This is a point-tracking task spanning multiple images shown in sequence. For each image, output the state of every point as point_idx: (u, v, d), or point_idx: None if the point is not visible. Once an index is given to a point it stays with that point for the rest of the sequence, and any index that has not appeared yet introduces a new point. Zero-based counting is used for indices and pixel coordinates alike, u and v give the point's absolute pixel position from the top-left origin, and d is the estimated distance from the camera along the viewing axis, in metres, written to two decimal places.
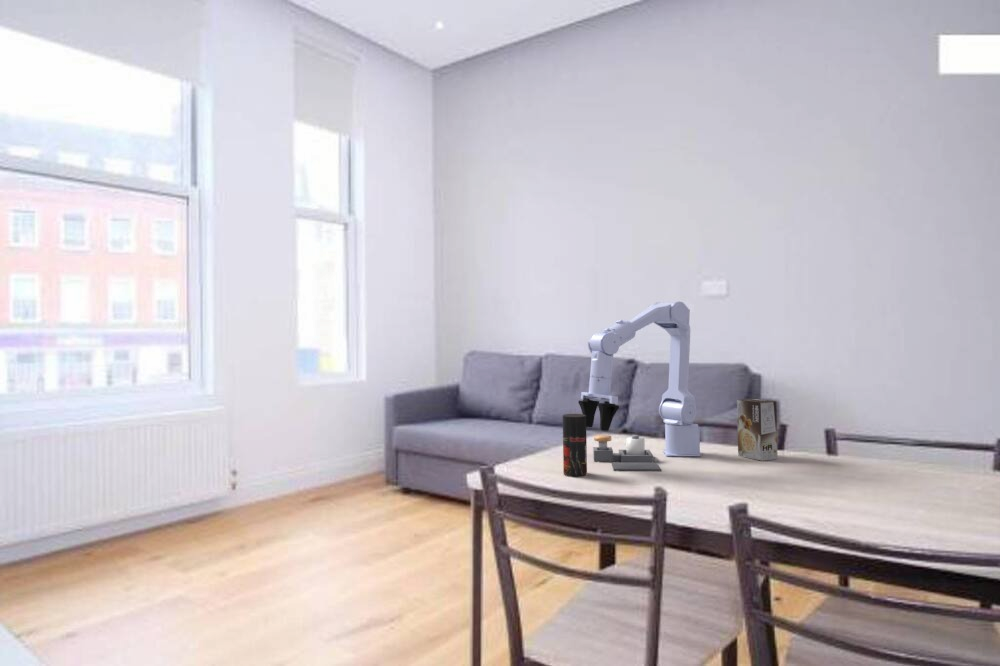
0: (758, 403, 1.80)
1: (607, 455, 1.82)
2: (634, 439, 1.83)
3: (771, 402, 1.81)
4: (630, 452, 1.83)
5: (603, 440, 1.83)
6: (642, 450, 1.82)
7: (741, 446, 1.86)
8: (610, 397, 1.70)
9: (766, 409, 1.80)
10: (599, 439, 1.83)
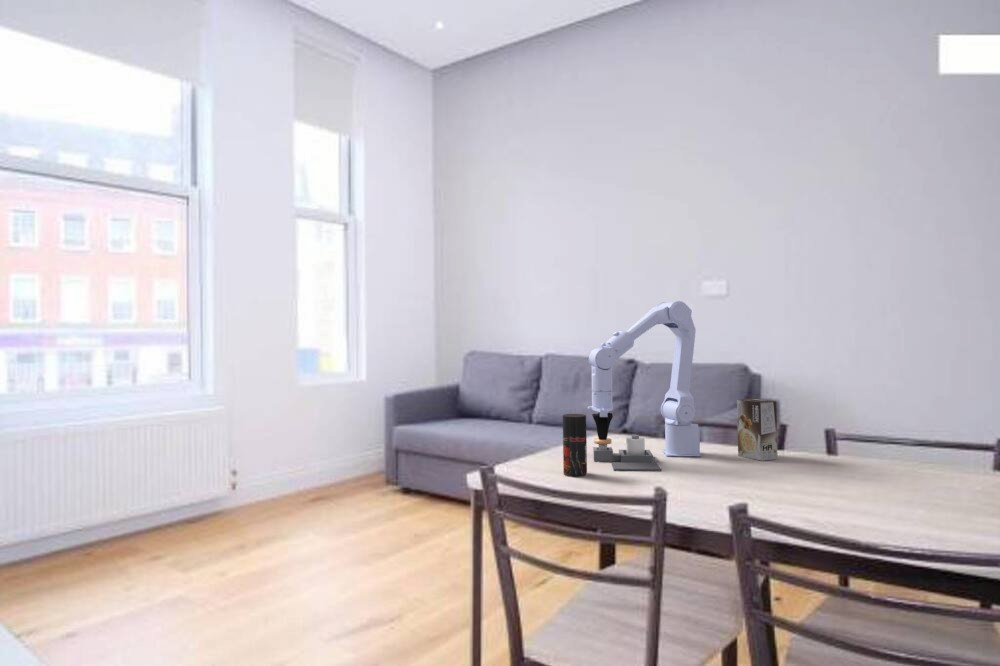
0: (758, 403, 1.80)
1: (607, 455, 1.82)
2: (634, 439, 1.83)
3: (771, 402, 1.81)
4: (630, 452, 1.83)
5: (603, 443, 1.83)
6: (642, 451, 1.82)
7: (741, 446, 1.86)
8: (599, 411, 1.78)
9: (766, 409, 1.80)
10: (599, 442, 1.83)
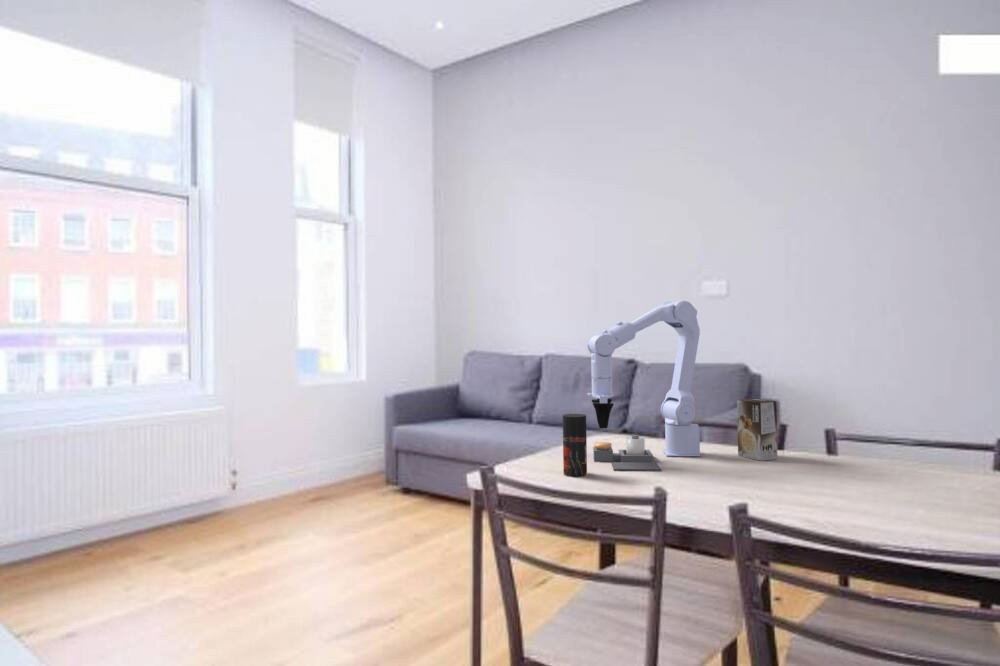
0: (758, 403, 1.80)
1: (607, 455, 1.82)
2: (634, 439, 1.83)
3: (771, 402, 1.81)
4: (630, 452, 1.83)
5: (603, 447, 1.83)
6: (642, 451, 1.82)
7: (741, 446, 1.86)
8: (599, 397, 1.78)
9: (766, 409, 1.80)
10: (599, 446, 1.83)
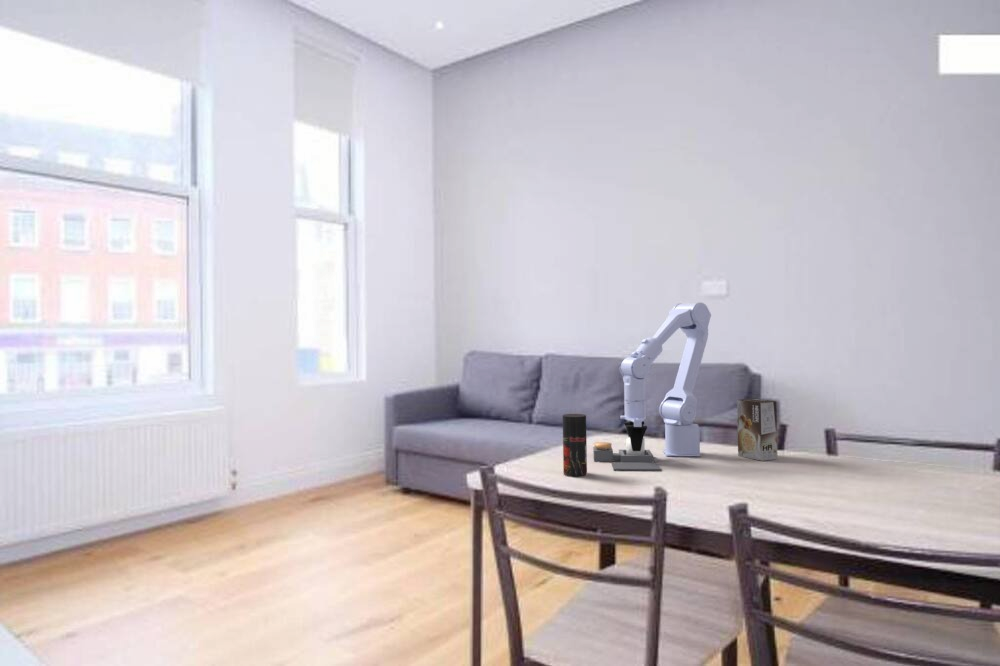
0: (758, 403, 1.80)
1: (607, 455, 1.82)
2: None
3: (771, 402, 1.81)
4: (630, 451, 1.83)
5: (603, 447, 1.83)
6: (642, 450, 1.82)
7: (741, 446, 1.86)
8: (633, 420, 1.78)
9: (766, 409, 1.80)
10: (599, 446, 1.83)
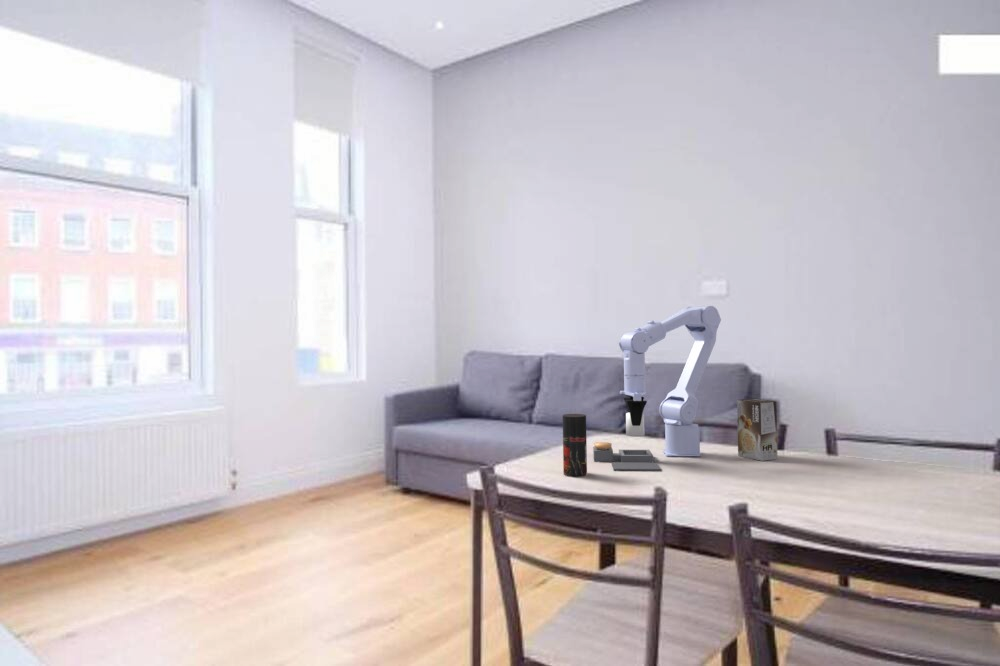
0: (758, 403, 1.80)
1: (607, 455, 1.82)
2: None
3: (771, 402, 1.81)
4: (629, 426, 1.82)
5: (603, 447, 1.83)
6: (642, 425, 1.82)
7: (741, 446, 1.86)
8: (633, 395, 1.77)
9: (766, 409, 1.80)
10: (599, 446, 1.83)
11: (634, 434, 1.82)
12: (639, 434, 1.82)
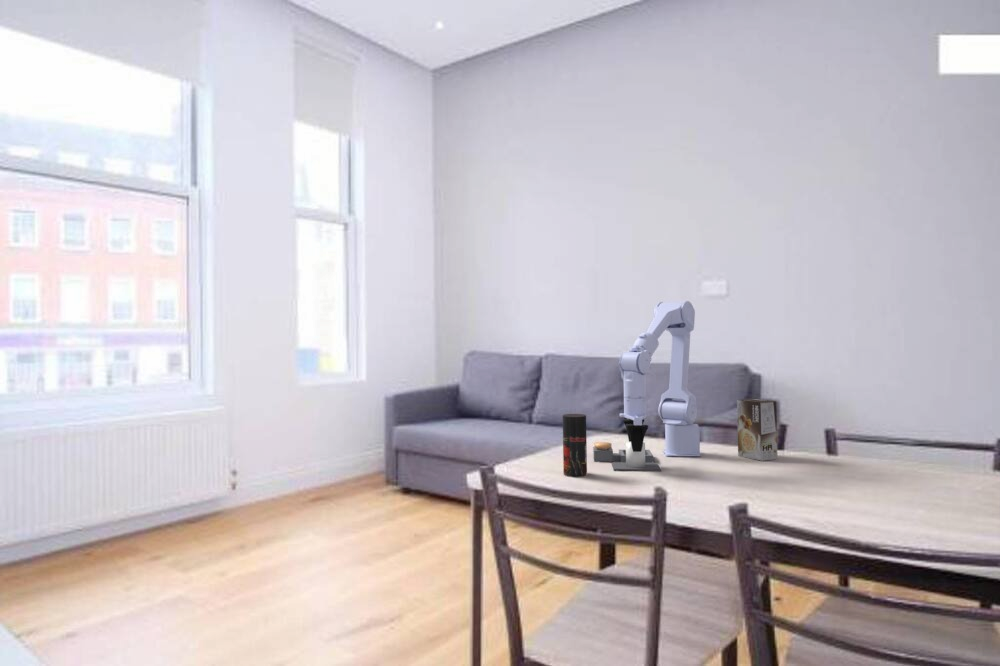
0: (758, 403, 1.80)
1: (607, 455, 1.82)
2: None
3: (771, 402, 1.81)
4: (629, 457, 1.73)
5: (603, 447, 1.83)
6: (642, 456, 1.72)
7: (741, 446, 1.86)
8: (633, 418, 1.68)
9: (766, 409, 1.80)
10: (599, 446, 1.83)
11: (634, 465, 1.72)
12: (639, 466, 1.72)
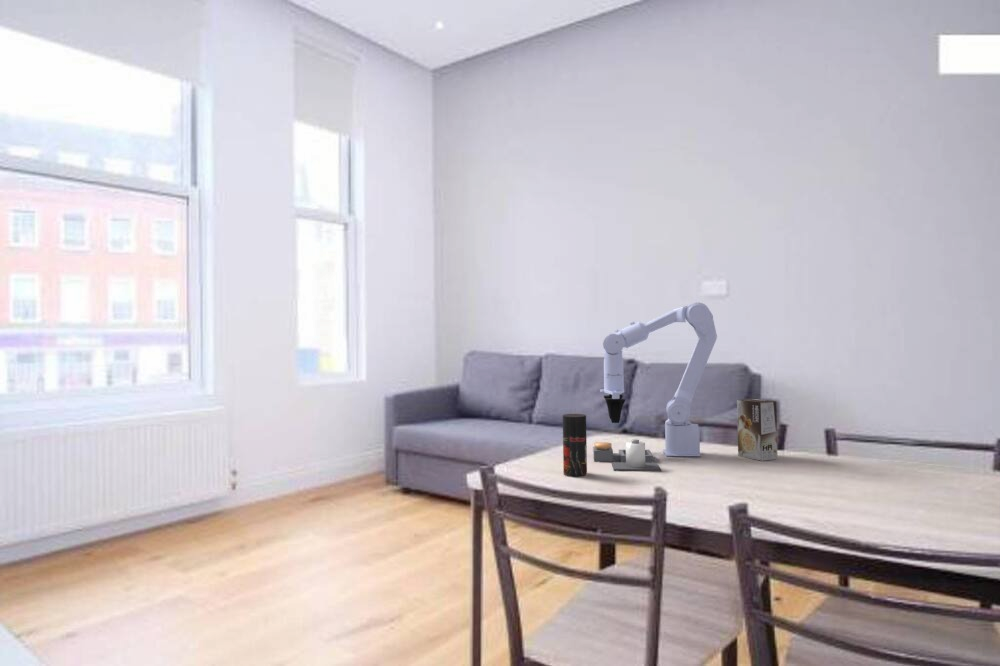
0: (758, 403, 1.80)
1: (607, 455, 1.82)
2: (634, 444, 1.73)
3: (771, 402, 1.81)
4: (629, 457, 1.73)
5: (603, 447, 1.83)
6: (642, 456, 1.72)
7: (741, 446, 1.86)
8: (612, 393, 1.88)
9: (766, 409, 1.80)
10: (599, 446, 1.83)
11: (634, 465, 1.72)
12: (639, 466, 1.72)
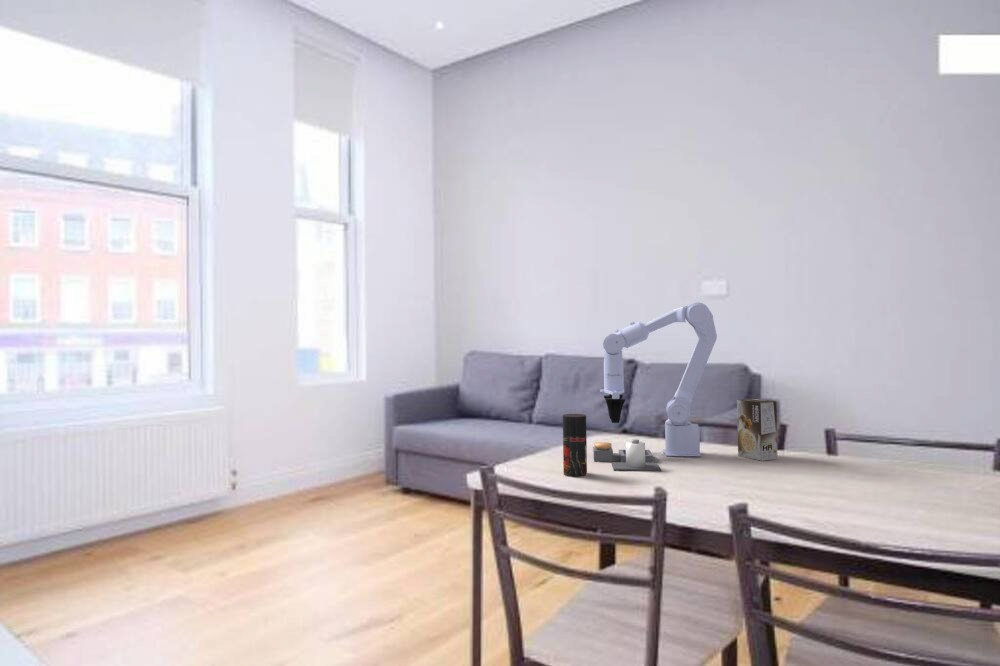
0: (758, 403, 1.80)
1: (607, 455, 1.82)
2: (634, 444, 1.73)
3: (771, 402, 1.81)
4: (629, 457, 1.73)
5: (603, 447, 1.83)
6: (642, 456, 1.72)
7: (741, 446, 1.86)
8: (612, 393, 1.88)
9: (766, 409, 1.80)
10: (599, 446, 1.83)
11: (634, 465, 1.72)
12: (639, 466, 1.72)
